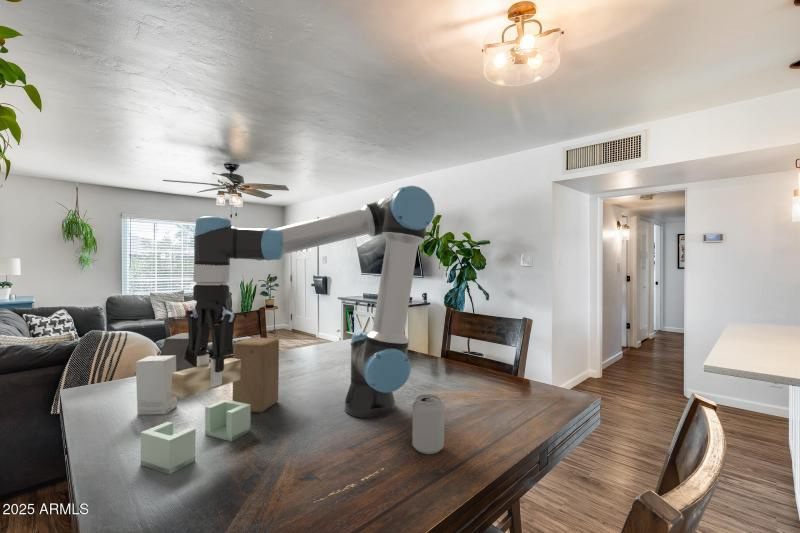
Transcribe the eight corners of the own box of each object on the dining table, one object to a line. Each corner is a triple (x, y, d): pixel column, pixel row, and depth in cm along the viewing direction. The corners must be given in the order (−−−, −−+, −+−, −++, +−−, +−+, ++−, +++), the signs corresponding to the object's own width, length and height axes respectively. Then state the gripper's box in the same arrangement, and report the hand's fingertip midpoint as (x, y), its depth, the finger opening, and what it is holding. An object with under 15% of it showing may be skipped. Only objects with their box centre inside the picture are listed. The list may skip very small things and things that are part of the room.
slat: (229, 377, 97) (230, 357, 97) (240, 379, 96) (241, 359, 96) (171, 396, 82) (172, 372, 82) (182, 398, 81) (183, 375, 81)
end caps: (224, 425, 102) (224, 399, 102) (250, 431, 98) (250, 404, 98) (140, 464, 82) (140, 432, 82) (169, 474, 78) (169, 440, 78)
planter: (175, 383, 122) (193, 323, 133) (150, 383, 121) (170, 323, 132) (196, 397, 136) (210, 341, 147) (173, 397, 135) (190, 341, 147)
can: (424, 437, 96) (425, 390, 96) (449, 447, 92) (450, 397, 92) (405, 448, 91) (406, 398, 90) (431, 459, 86) (432, 406, 86)
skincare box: (177, 406, 115) (178, 355, 114) (164, 415, 108) (165, 360, 108) (149, 406, 114) (149, 354, 114) (134, 415, 108) (135, 360, 108)
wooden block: (261, 414, 110) (262, 344, 110) (230, 410, 112) (231, 342, 112) (279, 401, 120) (280, 338, 120) (250, 399, 122) (251, 336, 122)
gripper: (251, 284, 89) (248, 384, 90) (199, 281, 96) (197, 375, 96) (225, 286, 82) (222, 394, 83) (171, 282, 89) (169, 383, 89)
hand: (209, 384), depth 89 cm, fingers closed on slat, 3 cm apart
